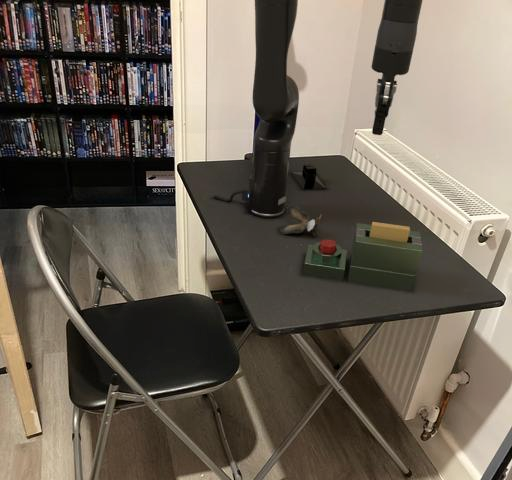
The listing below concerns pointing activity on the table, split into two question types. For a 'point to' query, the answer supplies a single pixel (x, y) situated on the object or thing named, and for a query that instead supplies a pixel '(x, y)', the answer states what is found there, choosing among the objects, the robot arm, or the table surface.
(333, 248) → the button
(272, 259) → the table surface
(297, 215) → the eagle figurine
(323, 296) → the table surface
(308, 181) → the black block on base
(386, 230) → the toast
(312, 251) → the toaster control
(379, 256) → the toaster
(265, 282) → the table surface
